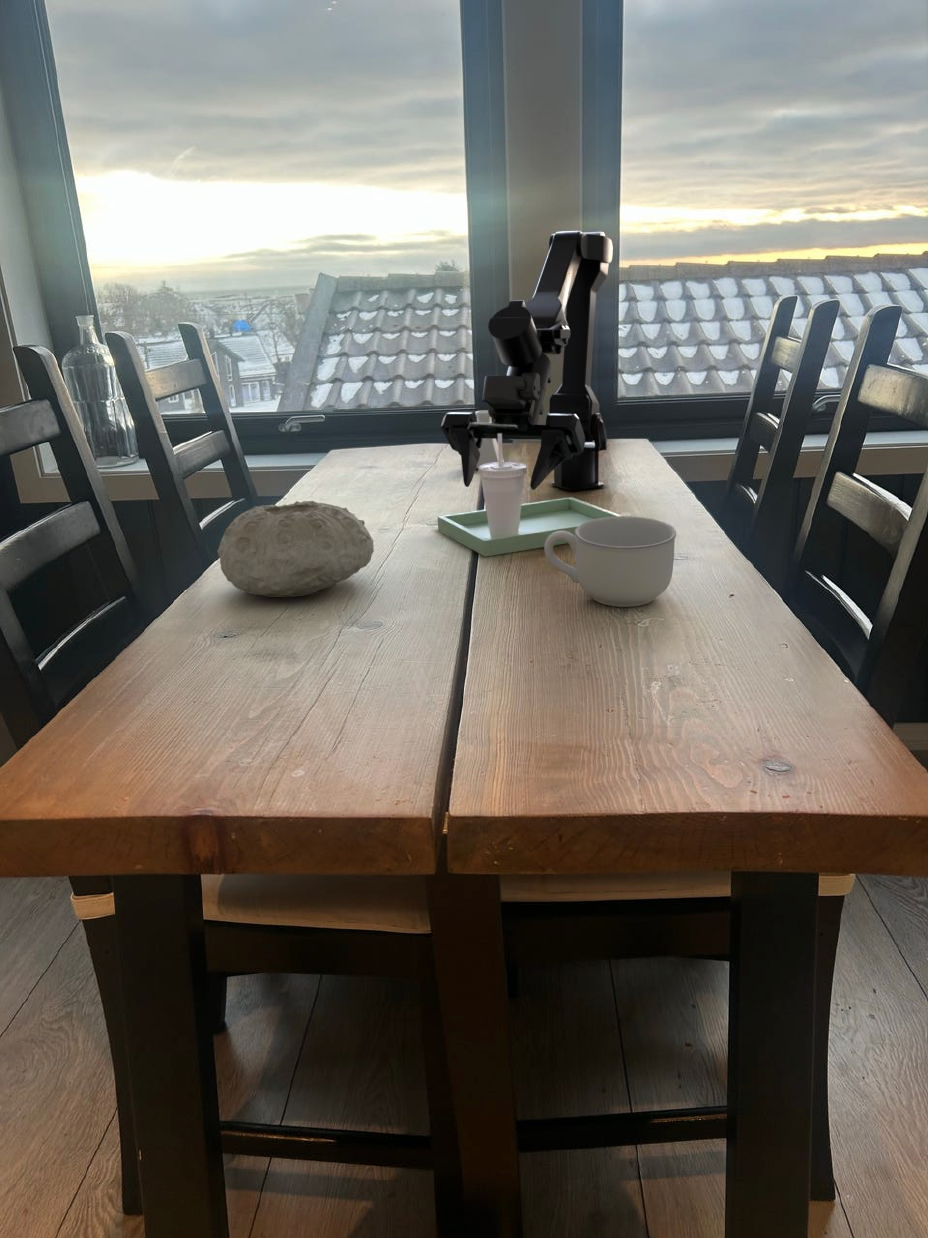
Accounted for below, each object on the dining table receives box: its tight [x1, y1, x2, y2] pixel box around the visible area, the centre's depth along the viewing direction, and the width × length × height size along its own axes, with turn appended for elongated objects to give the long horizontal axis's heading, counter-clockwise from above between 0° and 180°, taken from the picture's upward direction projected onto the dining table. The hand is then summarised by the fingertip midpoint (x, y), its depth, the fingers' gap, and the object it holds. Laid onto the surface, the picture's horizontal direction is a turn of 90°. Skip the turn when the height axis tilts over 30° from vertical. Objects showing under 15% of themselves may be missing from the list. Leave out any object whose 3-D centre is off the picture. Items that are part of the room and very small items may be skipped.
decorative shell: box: [216, 500, 375, 598], centre depth 117 cm, size 18×18×10 cm
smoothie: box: [477, 433, 528, 538], centre depth 132 cm, size 6×6×14 cm
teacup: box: [543, 515, 677, 608], centre depth 109 cm, size 14×11×8 cm
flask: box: [474, 409, 505, 469], centre depth 183 cm, size 7×7×10 cm
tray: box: [437, 496, 623, 558], centre depth 138 cm, size 22×16×2 cm
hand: (498, 486), depth 130 cm, fingers open, 9 cm apart
